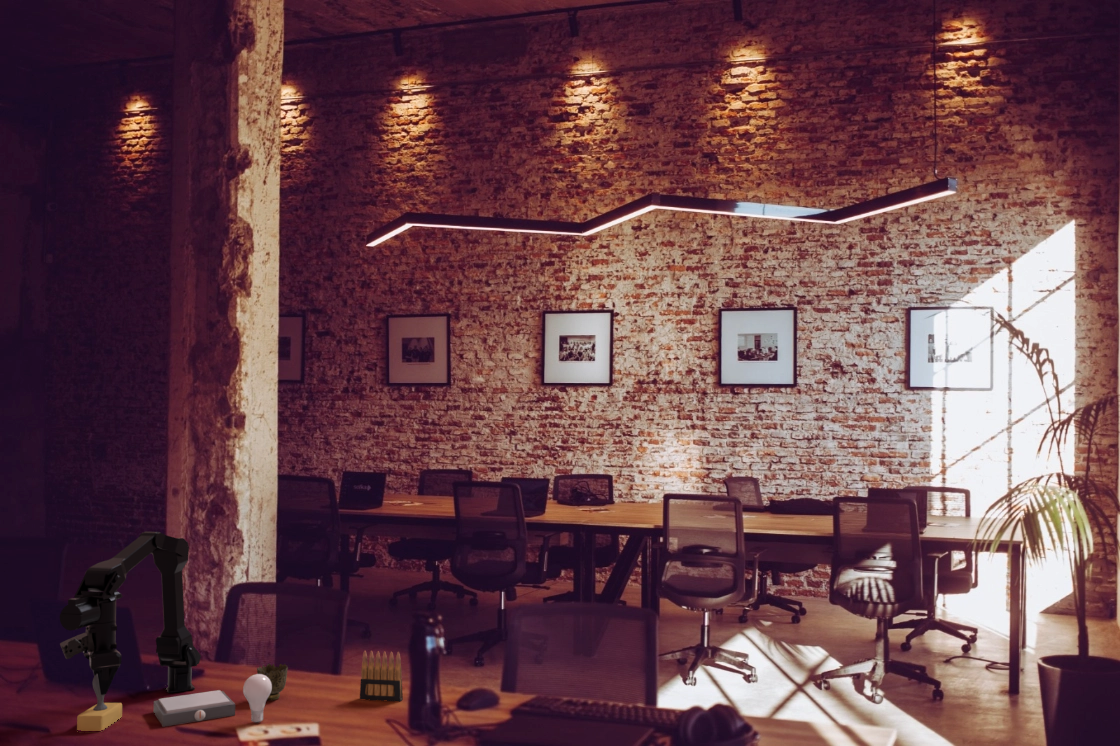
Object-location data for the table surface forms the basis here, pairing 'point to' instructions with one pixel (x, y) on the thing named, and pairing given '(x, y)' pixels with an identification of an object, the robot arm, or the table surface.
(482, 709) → the table surface
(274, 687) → the cup
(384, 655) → the ammunition clip
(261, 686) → the lightbulb
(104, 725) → the rubber stamp
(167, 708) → the dial scale
